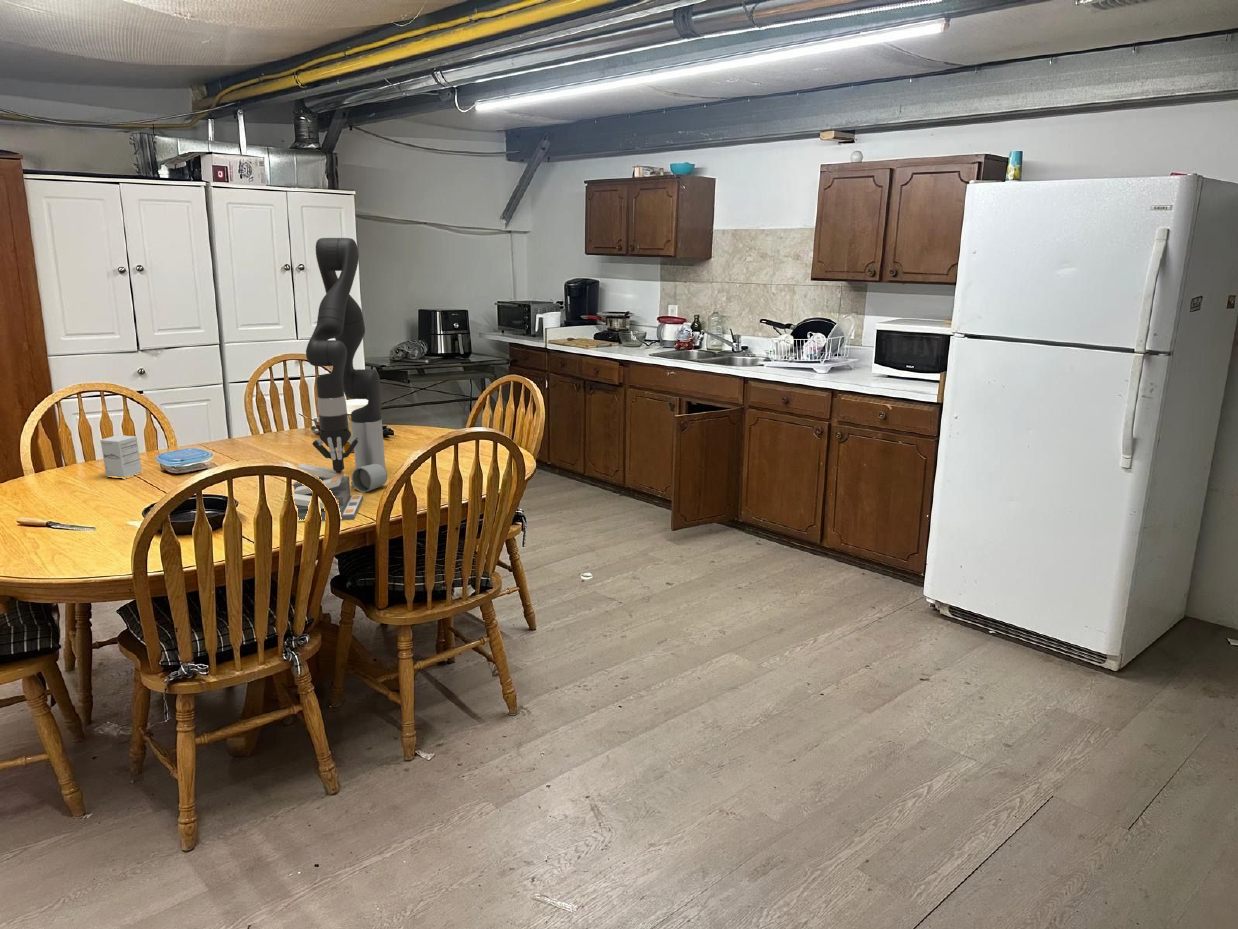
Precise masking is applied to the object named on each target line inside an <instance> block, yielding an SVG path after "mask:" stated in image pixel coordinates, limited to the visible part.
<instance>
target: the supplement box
mask: <svg viewBox="0 0 1238 929" xmlns="http://www.w3.org/2000/svg"><path fill="white" fill-rule="evenodd" d="M100 445H101V452H102V459H103V463H104V464H103V465H104V469H105V476H117V477H124V478H125V477H127V476H132V475H135V474H137V473H141V472H142V473H143V470H142V465H141V464H142V463H141V457H140V451H139V442H138V438H137V436H134V435H133V436H131V435H124V434H116V435H113V436H109V437H106V438H102V439H100Z"/></svg>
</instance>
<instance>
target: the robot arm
mask: <svg viewBox="0 0 1238 929" xmlns="http://www.w3.org/2000/svg"><path fill="white" fill-rule="evenodd" d="M315 257H316V262H317V267H318V268H319V273H320V276H321V279H322V283H323V285H324V290H325V295H324V296H323V298H322V299H321V302H320V304H319V307H318V312H317V313H318V314H317V321H316V326H315V328H314V330H313V333H312V335H311V336H310V338H309V341H308V343H307V344H306V345H307V346H306V350H305V356H306V360H307V362H308V363H309V364H310V366H312V367H332V370H331V372H329V373H325V374H321V375H319V376H317V377H316V391H317V393H316V394H317V412H318V419H319V427H320V428H319V430H320V433H319V434H318V438H317V439H314V441H313V442H312V446H313V447H314V448H315V449H316V450H317V451H318V452H319V453H320V454H321V455H322V456H323V458H325V459H329V460H331V461H332V469H333V470H334V471H336V473H338V472H342V471H344V469H345V461H344V460H345V458H348V457H349V456H350V455H351V454H352V452H353V453H354V463H355V464H354V465H355V469H356V468H358V467H363V466H367V465H371V464H379V465H382V466H383V467H384V468H385V470H386V471H387V469H386V457H385V445H384V435H383V434H384V432H383V422H382V421H383V420H382V403H381V402H382V401H381V400H382V399H381V380H380V379H381V378H380V374H379V372H378V371H377V370H376V369H366V368H365V369H360V368H359V369H355V367H354V364H353V363H354V357H355V354H356V352H357V350H358V349H359V347H360V345H361V344H362V341H363V339H364V336H365V334H366V327H365V320H364V315H363V311H362V308H361V307H360V305H359V303H358V302H357V301H356V300H355V299H354V298H353V297H352V296H351V295H350V293H351V290H352V287H353V283H354V280H355V276H356V272H357V269H358V265H359V258H360V257H359V248H358V245H357V242H356V241H355V240H354V239H353V238H349V237H321V238H318V239H317V240H316V242H315ZM339 271H340V274H339V277H338V274H337V272H339ZM330 339H331V340H330ZM332 339H333V340H332ZM345 397H346V398H348V399H351V400H367V404H365V405H363V406H361V407H359V408H356V409H354V410H352V411H351V413H350V420H351V431H350V429H349V419H348V410H347V408H348V407H347V401H346V398H345ZM351 432H352V433H351ZM348 441H349V442H348ZM323 443H324V445H325V446H326V447H327V448H328V449H329V450H328V449H327V448H326V447H325V446H324V445H323ZM347 443H348V444H350V445H349V447H348V448H347V449H346V450H345V451H344V447H345V446H346V444H347Z"/></svg>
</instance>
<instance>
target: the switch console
mask: <svg viewBox="0 0 1238 929" xmlns="http://www.w3.org/2000/svg"><path fill="white" fill-rule="evenodd" d="M318 477H319V476H318ZM319 479H321V480H322V481H323V480H327V479H329V478H324V477H319ZM350 484H351V482H350V476H349V475H343V478H342V480H341V483H340V485H339V486H337V487H333V488H329V490H331V491H332V493H333V495H334V496H335V498H336V499H337V500H339V502H338V503H339V508H340V512H341V517H342V520H341V521H345V520H346V521H347V520H349V521H350V520H355V518H356V516H357V514H358V513H359V509H360V507H361V505H362V503H363V501H364V494H351V486H350ZM300 486H304V485H302V484H301V483H298V482H296V481H294V483H293V488H294V490H293V492H294V491H295V489H296V488H297V487H300ZM305 495H307V496H312V493H309V494H305ZM296 506H297V508H298V517H299V520H300V519H301V520H302V519H303V520H304V519H305V516H306V514H307V511H308V506H302V505H296ZM321 517H322V521H321V522H326V521H325V511H324V509H323V508H321Z"/></svg>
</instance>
